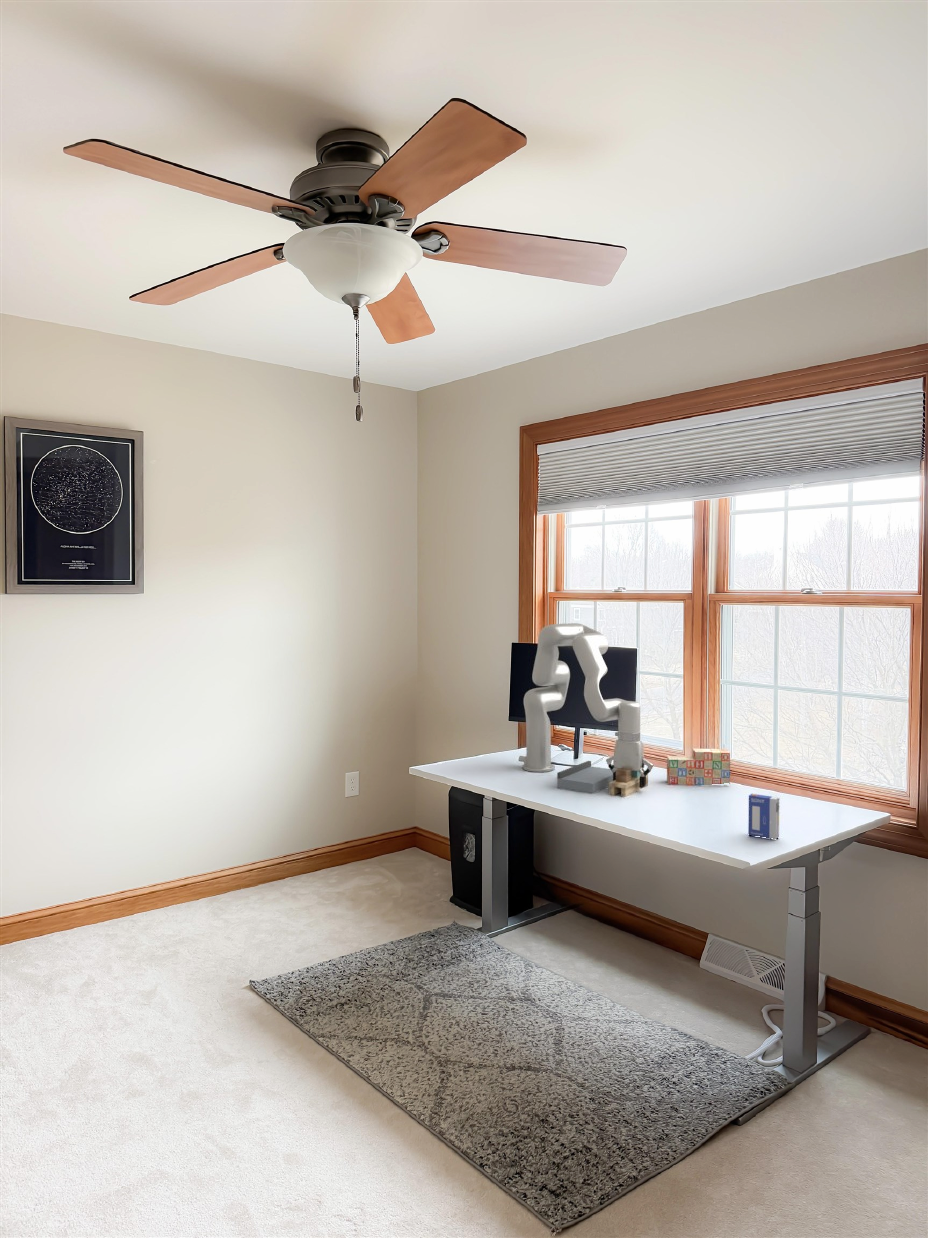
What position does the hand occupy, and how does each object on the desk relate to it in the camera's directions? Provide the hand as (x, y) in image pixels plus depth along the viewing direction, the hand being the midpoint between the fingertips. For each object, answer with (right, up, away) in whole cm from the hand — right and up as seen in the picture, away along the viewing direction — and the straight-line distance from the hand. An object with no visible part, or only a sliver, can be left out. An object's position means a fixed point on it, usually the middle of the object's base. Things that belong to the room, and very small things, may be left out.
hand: (629, 785), depth 291 cm
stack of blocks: (+27, -1, +9) cm, 28 cm away
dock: (-12, -1, +9) cm, 15 cm away
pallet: (0, -2, 0) cm, 2 cm away
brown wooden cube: (-3, +2, -4) cm, 5 cm away
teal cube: (+3, +3, +4) cm, 5 cm away
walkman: (+27, -4, -55) cm, 61 cm away
